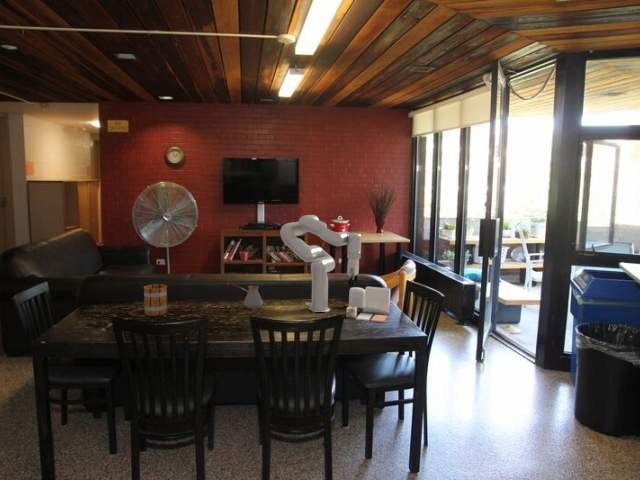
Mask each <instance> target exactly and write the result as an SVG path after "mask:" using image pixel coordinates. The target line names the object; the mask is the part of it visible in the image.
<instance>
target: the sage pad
mask: <svg viewBox="0 0 640 480" xmlns="http://www.w3.org/2000/svg"><path fill="white" fill-rule="evenodd" d="M373 315H374V314H371V313H362V312H360V313H359V314H357V316H356V317H355V320H357V321H365V322H369V320H371V319H372V318H373V317H374V316H373Z"/></svg>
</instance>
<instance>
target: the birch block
mask: <svg viewBox="0 0 640 480" xmlns="http://www.w3.org/2000/svg"><path fill="white" fill-rule="evenodd" d="M345 313H346V314H345V316H346V318H350V319H351V318H353V319H356V318H357V317H358V308H357V307H349V306H348V307H347V308H346V312H345Z"/></svg>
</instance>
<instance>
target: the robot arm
mask: <svg viewBox="0 0 640 480" xmlns="http://www.w3.org/2000/svg"><path fill="white" fill-rule="evenodd" d="M308 232H309V233H311V234H313V235H316V236H317V237H319V238H320V239H321V240H322V241H324V242H325V243H327V244H329V245H333V246H335V247H341V246H346V245H347V254H346V255H347V259H348V260H347V267H346V268H347V270H346V276H348V280H347V281H348V283H347V284H348V285H347V286H348V287H350V288H354V287H355V284H358V283H359V281H358V280H359V270H360V259H361V258H362V257H361V255H362V235H361V233H355V232H349V231H341V232H340V231H339V232H336V231H333V230H331V229H329V228H328V227H327V223H326V222H324V221H322V220H320V219H319V217H318V216H316V215H314V214H306V215H302V216H300V218H299V219H298V221H296V222H295V221H293V222H287V223H285V224H283V225H282V226H281V228H280V232H279V233H280V238H281V240H282V242H283V244H284V245H285V246H287V247H288V248H289V249H290V250H291V251H293V252H294V253H295V254H296V255H297V257H299V258H300V259H301V260H303V261H304V262H305V263H311V264H310V272H311V301H310V302H307V301H305V302H304V306H306V307H308V311H309V310H311V311H314V312H313V313H315V312H325V313H329V312H330V311H331V308H330V307H328V306H329V305H328V300H329V277H328V274H327V273H329V272H331V271H333V270H334V269H335V267H336V261H335V259H334V258H333V257H332V255H330V254H329V253H327V252H326V251H325V250H324V249H323V248H322V247H321V246H319V245H316V244H313V245H308V244H307V243H306V242H305V241H304V240H303V239H301V238H299V237H297V236H301V235H304V234H307V233H308ZM311 311H310V312H311Z"/></svg>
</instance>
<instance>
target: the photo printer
mask: <svg viewBox="0 0 640 480" xmlns="http://www.w3.org/2000/svg"><path fill="white" fill-rule="evenodd" d="M348 294H349V295H348V307H357V309H363V310H364V309H365V289H364V288H362V287H355V286H354V287H350V288H349V293H348Z"/></svg>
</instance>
